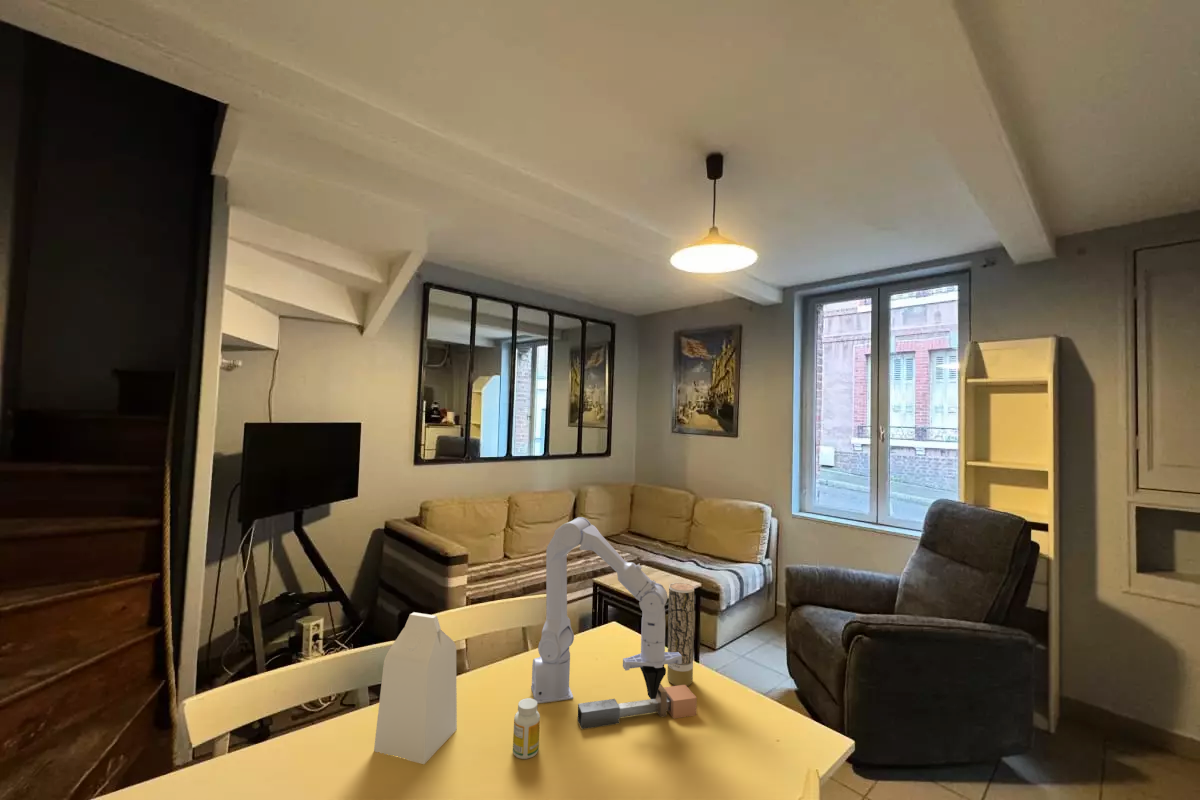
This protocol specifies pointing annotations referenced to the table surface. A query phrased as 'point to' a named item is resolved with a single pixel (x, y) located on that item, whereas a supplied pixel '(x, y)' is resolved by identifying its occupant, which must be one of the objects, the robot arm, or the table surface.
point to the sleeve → (598, 713)
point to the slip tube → (647, 705)
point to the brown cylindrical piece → (681, 632)
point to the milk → (417, 691)
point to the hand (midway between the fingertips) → (651, 696)
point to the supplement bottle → (526, 729)
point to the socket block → (681, 701)
